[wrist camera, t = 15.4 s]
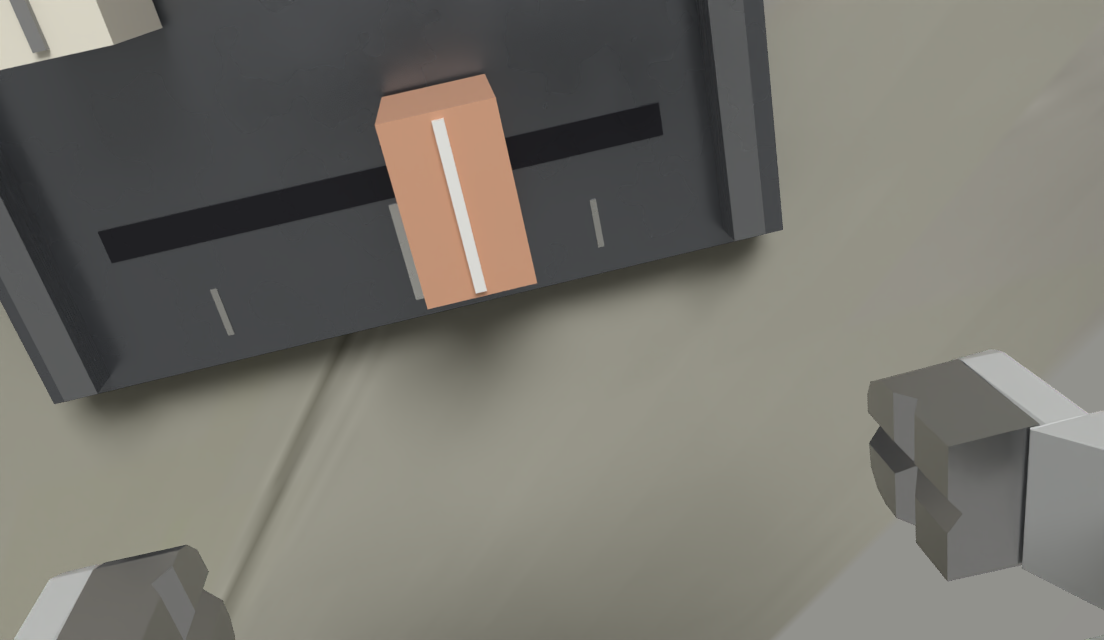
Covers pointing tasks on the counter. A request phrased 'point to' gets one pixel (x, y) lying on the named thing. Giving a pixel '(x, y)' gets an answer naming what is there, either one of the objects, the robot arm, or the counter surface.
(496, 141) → the light orange-brown fader
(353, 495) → the counter surface
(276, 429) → the counter surface
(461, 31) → the console
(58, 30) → the cream fader
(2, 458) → the counter surface
